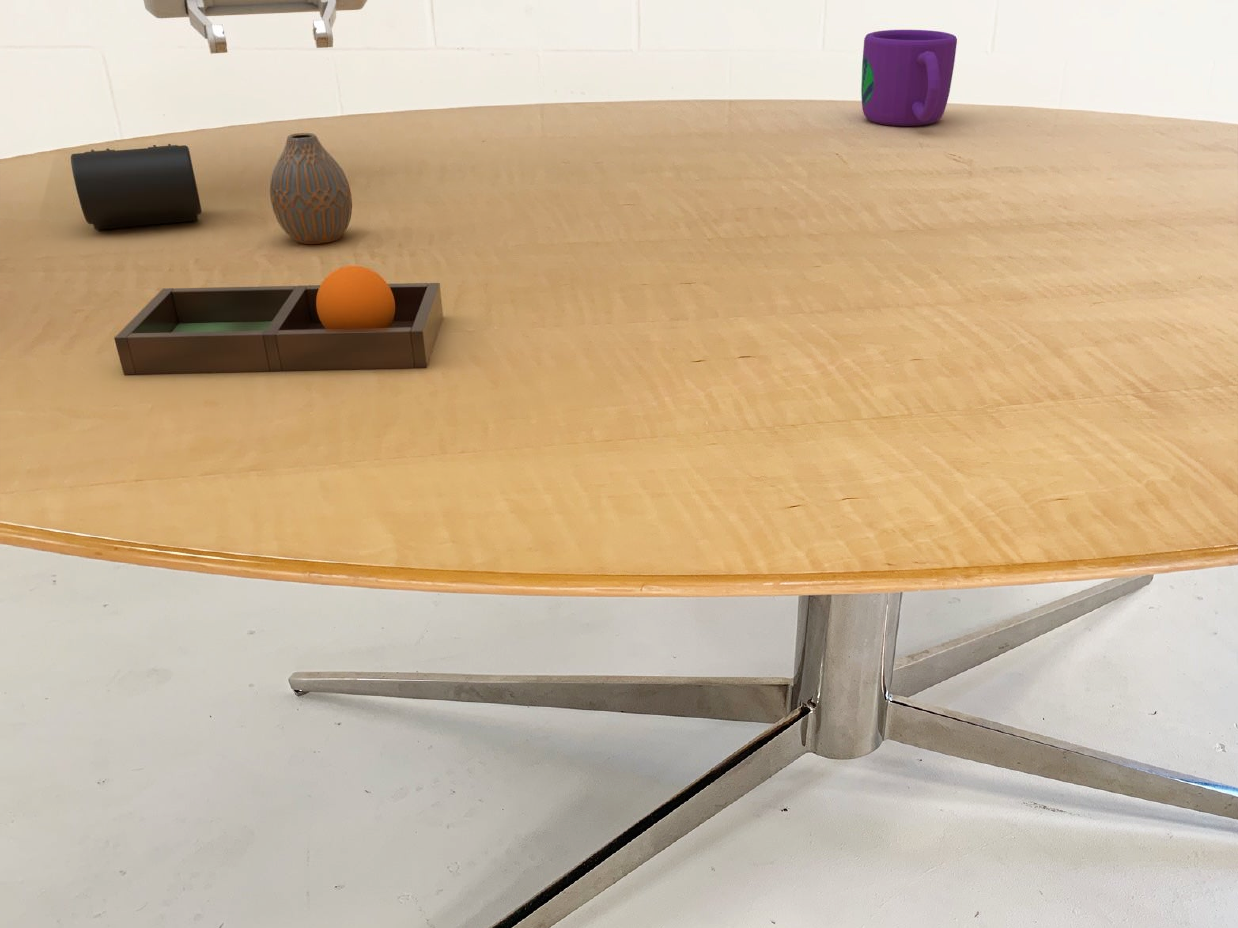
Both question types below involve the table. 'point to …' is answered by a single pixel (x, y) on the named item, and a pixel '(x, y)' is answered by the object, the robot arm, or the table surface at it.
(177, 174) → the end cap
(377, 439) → the table surface
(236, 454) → the table surface
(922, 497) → the table surface
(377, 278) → the clementine
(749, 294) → the table surface
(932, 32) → the mug
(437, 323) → the tray
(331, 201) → the vase
